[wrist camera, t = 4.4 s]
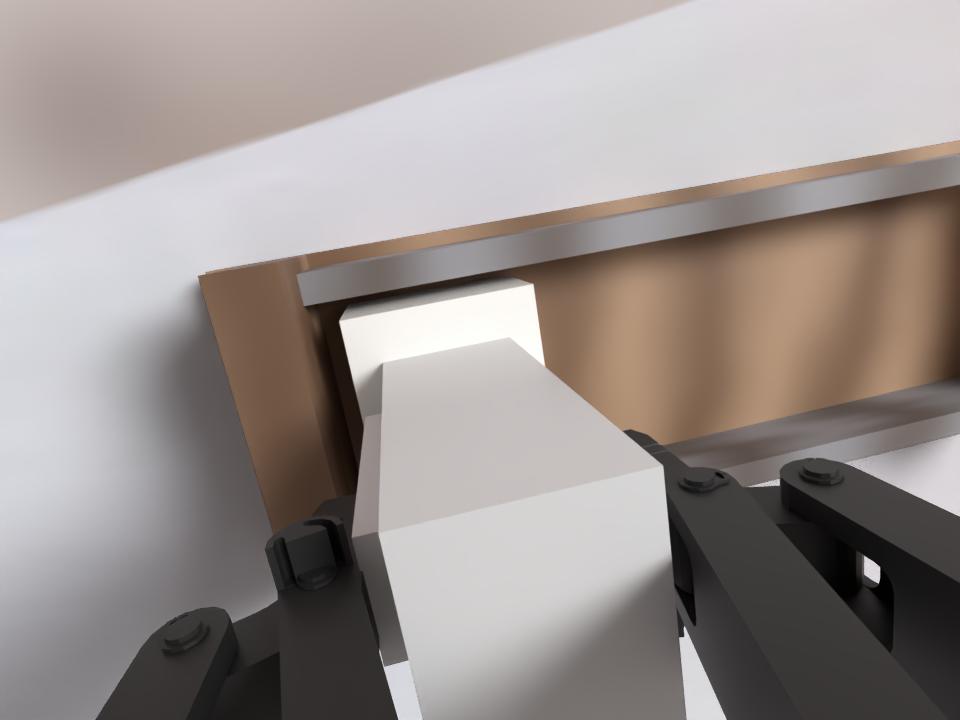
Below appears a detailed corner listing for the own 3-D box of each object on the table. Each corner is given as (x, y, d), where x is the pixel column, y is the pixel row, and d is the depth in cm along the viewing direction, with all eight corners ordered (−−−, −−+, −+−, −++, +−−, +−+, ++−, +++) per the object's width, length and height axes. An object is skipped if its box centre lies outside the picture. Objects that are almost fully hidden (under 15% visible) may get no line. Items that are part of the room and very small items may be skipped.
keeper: (392, 499, 22) (402, 909, 9) (348, 304, 20) (271, 444, 7) (535, 465, 23) (749, 797, 9) (506, 275, 21) (723, 348, 7)
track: (296, 546, 24) (261, 670, 17) (217, 269, 21) (137, 286, 14) (1011, 377, 28) (1209, 422, 21) (1030, 127, 25) (1267, 89, 18)
